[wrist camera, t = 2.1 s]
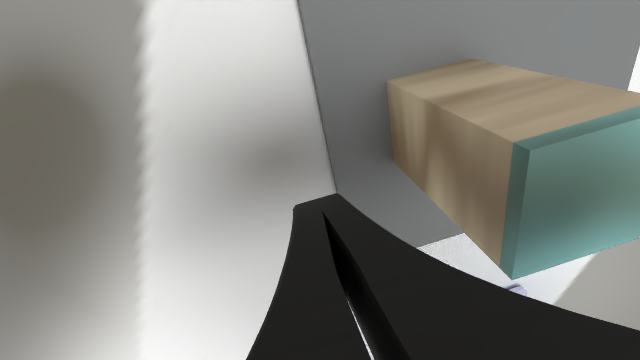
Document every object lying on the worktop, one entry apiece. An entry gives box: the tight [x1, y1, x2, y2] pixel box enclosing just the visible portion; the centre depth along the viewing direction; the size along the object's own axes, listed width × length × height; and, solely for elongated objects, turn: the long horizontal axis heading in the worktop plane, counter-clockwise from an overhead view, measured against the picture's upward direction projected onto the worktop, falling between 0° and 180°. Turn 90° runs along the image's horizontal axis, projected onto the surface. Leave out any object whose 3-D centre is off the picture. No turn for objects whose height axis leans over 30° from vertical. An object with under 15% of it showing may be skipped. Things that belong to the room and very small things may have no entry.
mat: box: [297, 0, 640, 248], centre depth 15 cm, size 16×16×1 cm
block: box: [386, 59, 640, 280], centre depth 11 cm, size 4×4×8 cm
